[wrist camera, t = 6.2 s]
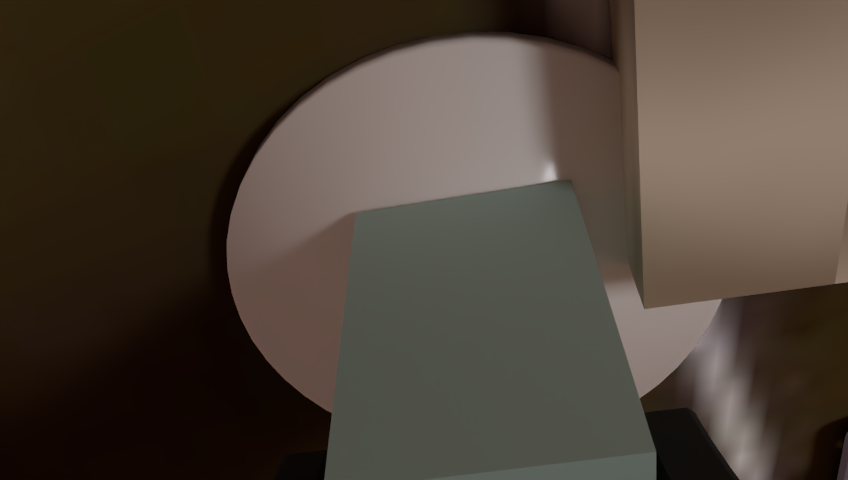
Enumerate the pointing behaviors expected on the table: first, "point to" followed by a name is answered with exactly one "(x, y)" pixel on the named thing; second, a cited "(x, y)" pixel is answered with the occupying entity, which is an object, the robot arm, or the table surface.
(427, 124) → the coaster
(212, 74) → the table surface
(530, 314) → the block
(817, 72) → the board
